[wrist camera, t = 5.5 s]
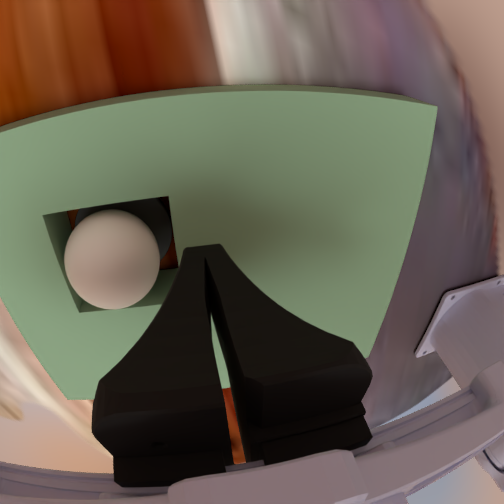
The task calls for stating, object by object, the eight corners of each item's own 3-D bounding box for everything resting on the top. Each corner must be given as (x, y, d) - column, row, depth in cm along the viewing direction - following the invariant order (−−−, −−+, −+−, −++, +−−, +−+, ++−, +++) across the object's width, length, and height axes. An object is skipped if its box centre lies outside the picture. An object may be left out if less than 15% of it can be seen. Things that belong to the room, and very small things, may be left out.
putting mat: (403, 95, 13) (437, 106, 11) (353, 331, 22) (368, 356, 20) (-24, 135, 10) (-54, 153, 8) (72, 369, 19) (67, 399, 17)
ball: (58, 204, 12) (146, 185, 13) (80, 276, 14) (157, 259, 15) (45, 258, 9) (160, 233, 10) (81, 338, 11) (175, 317, 13)
